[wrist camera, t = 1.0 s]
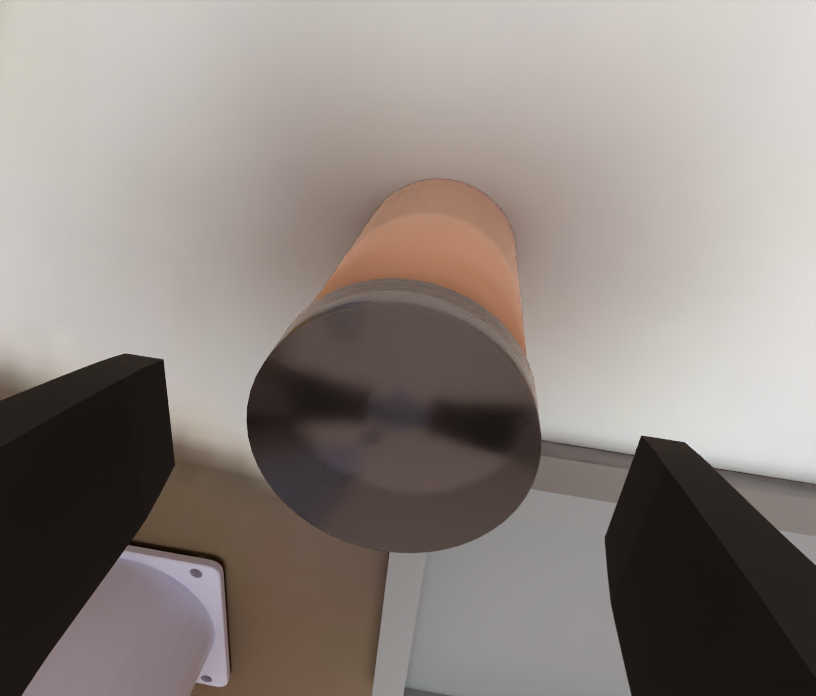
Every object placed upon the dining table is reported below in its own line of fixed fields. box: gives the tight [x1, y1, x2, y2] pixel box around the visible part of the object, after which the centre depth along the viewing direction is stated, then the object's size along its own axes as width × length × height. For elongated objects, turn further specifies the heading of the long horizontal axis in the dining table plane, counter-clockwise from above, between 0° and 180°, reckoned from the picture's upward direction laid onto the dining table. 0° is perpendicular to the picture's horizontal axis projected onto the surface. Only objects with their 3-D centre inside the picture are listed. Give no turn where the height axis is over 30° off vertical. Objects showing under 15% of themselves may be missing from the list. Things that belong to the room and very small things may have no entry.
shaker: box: [247, 179, 541, 553], centre depth 13 cm, size 5×5×9 cm
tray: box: [372, 441, 816, 696], centre depth 22 cm, size 14×14×2 cm
